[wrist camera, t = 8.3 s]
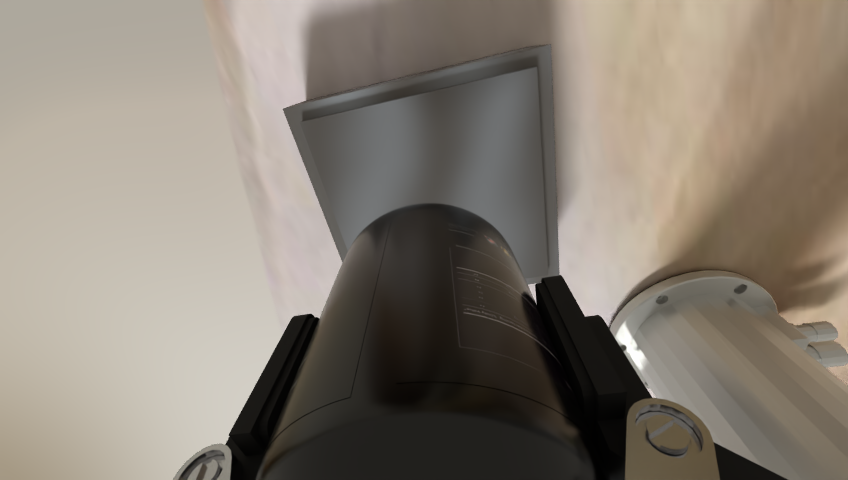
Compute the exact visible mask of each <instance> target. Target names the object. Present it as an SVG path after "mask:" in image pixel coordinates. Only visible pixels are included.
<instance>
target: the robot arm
mask: <svg viewBox="0 0 848 480" xmlns="http://www.w3.org/2000/svg"><path fill="white" fill-rule="evenodd" d="M535 288H536V301H537V307H538V310H539V312H540V314H541V316H542V319H543V321H544V323H545V326H546V328H547V330H548V333H549V335H550V337H551V339H552V342H553V344H554V346H555V349H556V351H557V353H558V356H559V358H560V360H561V362H562V365H563V367H564V369H565V372H566V374H567V376H568V379H569V381H570V383H571V385H572V388H573V390H574V392H575V395H576V397H577V399H578V402H579V404H580V406H581V408H582V411H583V413H584V415H585V418H586V420H587V422H588V425H589V427H590V429H591V431H592V434H593V436H594V438H595V441H596V443H597V445H598V448H599V450H600V452H601V455H602V458H603V461H604V463H605V466H606V468H607V471H608V474H609V476H610V479H611V480H848V385H847V384H845V383H844V382H843V381H842V380H840V379H839V378H838V377H837V376H835V375H834V374H833V373H832V372H830V371H829V370H828V369H827V368H826V367H835V366H844V365H846V364H847V363H848V354H847V352H846V350H845V349H844V348H843V347H842V346H841V345H840V344H839V343H837V342H835V341H833V340H835V339H836V338H837V337H838V332H837V330H836V328H835V327H834V326H833V325H832V324H831V323H829V322H827V321H821V322H812V323H804V324H802V325H794V324H791V323H788V322H787V321H786V320H785V319H783V318H782V317H781V316H779V315H778V312H777V306H776V303H775V302H774V300H773V298H772V296H771V295H770V294H769V293H768V292H767V291H766V290H765V289H764V288H763V287H761V286H760V285H758V284H757V283H755V282H754V281H752V280H751V279H749V278H748V277H745V276H742V275H740V274H737V273H733V272H727V271H721V270H705V271H698V272H691V273H686V274H682V275H679V276H675V277H672V278H669V279H667V280H664V281H662V282H659V283H657V284H655V285H653V286H651V287H650V288H648V289H646V290H645V291H643V292H641V293H640V294H638V295H637V296H636V297H635V298H633V299H632V300H631V301H630V302H628V303H627V305H626V306H625V307H624V308H623V309H622V310H621V311H620V312H619V313H618V315H617V316H616V318H615V319H614V321H613V323H612V324H611V327H610V329H609V328H608V326H607V325H606V323H605V321H604V320H603V319H602V317H601V316H599V315H595V316H588V317H585V316H584V314H583V313H582V311H581V309H580V307H579V305H578V304H577V302H576V300H575V298H574V297H573V295H572V293H571V291H570V289H569V288H568V286H567V284H566V282H565V281H564V279H563V277H562V276H561V275H558V276H551V277H545V278H542V279H541V283H537V284H536V285H535ZM318 321H319V318H317V317H314V316H313V315H312V314H306V315H299V316H294V317H293V318H292V319H291V321H290V322H289V324H288V326H287V328H286V330H285V332H284V334H283V335H282V337H281V339H280V341H279V343H278V345H277V347H276V348H275V350H274V352H273V354H272V356H271V358H270V360H269V361H268V363H267V365H266V367H265V369H264V371H263V373H262V374H261V376H260V378H259V380H258V382H257V383H256V385H255V387H254V389H253V391H252V393H251V395H250V396H249V398H248V400H247V402H246V404H245V406H244V407H243V409H242V411H241V413H240V415H239V417H238V419H237V420H236V422H235V424H234V426H233V428H232V430H231V432H230V433H229V436H230V437H229V439H228V441H227V443H226V444H225V445H223V444H214V445H211V446H208V447H206V448H204V449H202V450H201V451H199V452H197V453H196V454H195V455H193V456H192V457H191V458H190V459H189V460H188V461H187V462H186V463H185V464H184V465H183V466H182V467H181V468H180V470H179V471H178V472H177V474H176V476H175V477H174V479H173V480H255V477H256V474H257V471H258V469H259V466H260V463H261V460H262V457H263V455H264V452H265V450H266V447H267V445H268V442H269V440H270V437H271V435H272V433H273V430H274V428H275V425H276V423H277V420H278V418H279V416H280V413H281V411H282V408H283V406H284V403H285V401H286V399H287V396H288V394H289V391H290V389H291V386H292V384H293V382H294V379H295V377H296V374H297V372H298V369H299V367H300V365H301V362H302V360H303V357H304V355H305V352H306V350H307V348H308V345H309V343H310V340H311V338H312V335H313V333H314V331H315V328H316V326H317V323H318ZM646 388H650V389H651V390H652V392H653V393H654V395H655V397H656V398H652V397H651V395H650V393H649V392H648V390H647V389H646Z"/></svg>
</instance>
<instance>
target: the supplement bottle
mask: <svg viewBox="0 0 848 480" xmlns="http://www.w3.org/2000/svg"><path fill="white" fill-rule="evenodd" d="M255 480H611V479H610V476H609V474H608V471H607V468H606V466H605V463H604V461H603V458H602V455H601V452H600V450H599V448H598V445H597V443H596V441H595V438H594V436H593V434H592V431H591V429H590V427H589V425H588V422H587V420H586V418H585V415H584V413H583V411H582V408H581V406H580V404H579V402H578V399H577V397H576V395H575V392H574V390H573V388H572V385H571V383H570V381H569V379H568V376H567V374H566V372H565V369H564V367H563V365H562V362H561V360H560V358H559V356H558V353H557V351H556V349H555V346H554V344H553V342H552V339H551V337H550V335H549V333H548V330H547V328H546V326H545V323H544V321H543V319H542V316H541V314H540V312H539V310H538V307H537V305H536V303H535V300H534V298H533V296H532V293H531V291H530V289H529V287H528V284H527V282H526V280H525V277H524V275H523V273H522V271H521V268H520V266H519V264H518V262H517V260H516V258H515V255H514V253H513V251H512V249H511V248H510V246H509V244H508V243H507V241H506V240H505V238H504V237H503V236H502V234H501V233H500V232H499V231H498V230H497V229H496V228H495V227H494V226H493V225H492V224H490V223H489V222H488V221H486V220H485V219H483V218H482V217H480V216H478V215H477V214H475V213H473V212H470V211H468V210H466V209H463V208H460V207H456V206H452V205H447V204H440V203H421V204H413V205H408V206H404V207H401V208H397V209H395V210H392V211H390V212H388V213H386V214H384V215H382V216H380V217H379V218H377V219H376V220H374V221H373V222H371V223H370V224H369V225H368V226H367V227H365V228H364V229H363V230H362V231H361V232H360V234H359V235H358V236H357V237H356V239H355V240H354V242H353V243H352V245H351V247H350V248H349V250H348V252H347V254H346V257H345V259H344V261H343V263H342V266H341V268H340V270H339V272H338V275H337V277H336V280H335V282H334V285H333V287H332V289H331V292H330V294H329V297H328V299H327V302H326V304H325V306H324V309H323V311H322V314H321V316H320V318H319V321H318V323H317V326H316V328H315V331H314V333H313V335H312V338H311V340H310V343H309V345H308V348H307V350H306V352H305V355H304V357H303V360H302V362H301V365H300V367H299V369H298V372H297V374H296V377H295V379H294V382H293V384H292V386H291V389H290V391H289V394H288V396H287V399H286V401H285V403H284V406H283V408H282V411H281V413H280V416H279V418H278V420H277V423H276V425H275V428H274V430H273V433H272V435H271V437H270V440H269V442H268V445H267V447H266V450H265V452H264V455H263V457H262V460H261V463H260V466H259V469H258V471H257V474H256V477H255Z"/></svg>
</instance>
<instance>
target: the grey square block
mask: <svg viewBox="0 0 848 480" xmlns="http://www.w3.org/2000/svg"><path fill="white" fill-rule="evenodd" d="M283 111H284V113H285V116H286V119H287V121H288V124H289V126H290V129H291V131H292V134H293V137H294V139H295V142H296V144H297V147H298V149H299V152H300V155H301V157H302V160H303V162H304V165H305V167H306V170H307V172H308V175H309V178H310V180H311V183H312V185H313V188H314V190H315V193H316V196H317V198H318V201H319V203H320V206H321V208H322V211H323V214H324V216H325V219H326V221H327V224H328V226H329V229H330V232H331V234H332V237H333V239H334V242H335V244H336V247H337V250H338V252H339V255H340V257H341V260H342V262H343V261H344V259H345V257H346V254H347V252H348V250H349V248H350V247H351V245H352V243H353V242H354V240H355V239H356V237H357V236H358V235H359V234H360V232H361V231H362V230H363V229H364V228H365V227H367V226H368V225H369V224H370V223H371V222H373V221H374V220H376V219H377V218H379V217H380V216H382V215H384V214H386V213H388V212H390V211H392V210H395V209H397V208H401V207H404V206H408V205H413V204H421V203H440V204H447V205H452V206H456V207H460V208H463V209H466V210H468V211H470V212H473V213H475V214H477V215H478V216H480V217H482V218H483V219H485V220H486V221H488V222H489V223H490V224H492V225H493V226H494V227H495V228H496V229H497V230H498V231H499V232H500V233H501V234H502V236H503V237H504V238H505V240H506V241H507V243H508V244H509V246H510V248H511V249H512V251H513V253H514V255H515V258H516V260H517V262H518V264H519V266H520V268H521V271H522V273H523V275H524V277H525V280H526V282H527V284H534V283H541V279H542V278H545V277H551V276H558V275H559V250H558V223H557V196H556V168H555V141H554V113H553V86H552V58H551V44H549V45H538V46H531V47H526V48H522V49H518V50H514V51H510V52H506V53H502V54H497V55H493V56H489V57H485V58H481V59H477V60H473V61H468V62H464V63H460V64H456V65H452V66H448V67H444V68H440V69H435V70H431V71H427V72H423V73H419V74H415V75H411V76H406V77H402V78H398V79H394V80H390V81H386V82H382V83H377V84H373V85H369V86H365V87H361V88H357V89H353V90H348V91H344V92H340V93H336V94H332V95H328V96H324V97H320V98H315V99H311V100H307V101H304V102H301V103H298V104H295V105H292V106H290V107H287V108H284V109H283Z"/></svg>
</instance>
